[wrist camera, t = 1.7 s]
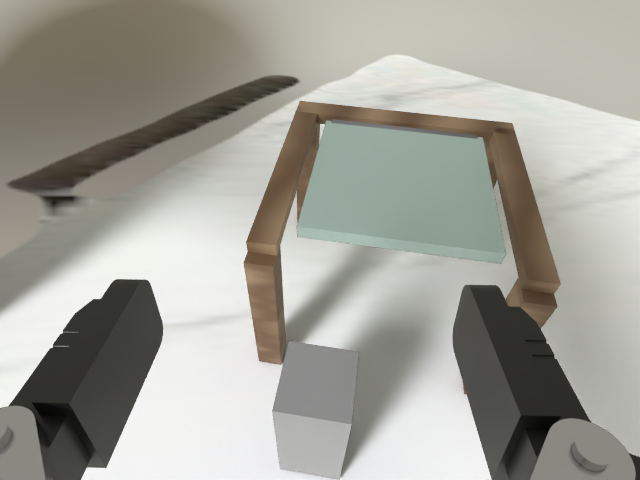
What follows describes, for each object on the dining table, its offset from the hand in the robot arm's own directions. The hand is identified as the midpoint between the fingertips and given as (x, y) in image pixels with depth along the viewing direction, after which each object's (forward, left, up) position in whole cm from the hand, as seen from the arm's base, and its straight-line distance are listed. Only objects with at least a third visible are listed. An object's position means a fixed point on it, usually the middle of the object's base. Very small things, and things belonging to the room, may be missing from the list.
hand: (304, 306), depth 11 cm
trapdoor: (+4, +21, -12) cm, 25 cm away
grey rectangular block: (0, +5, -26) cm, 26 cm away
